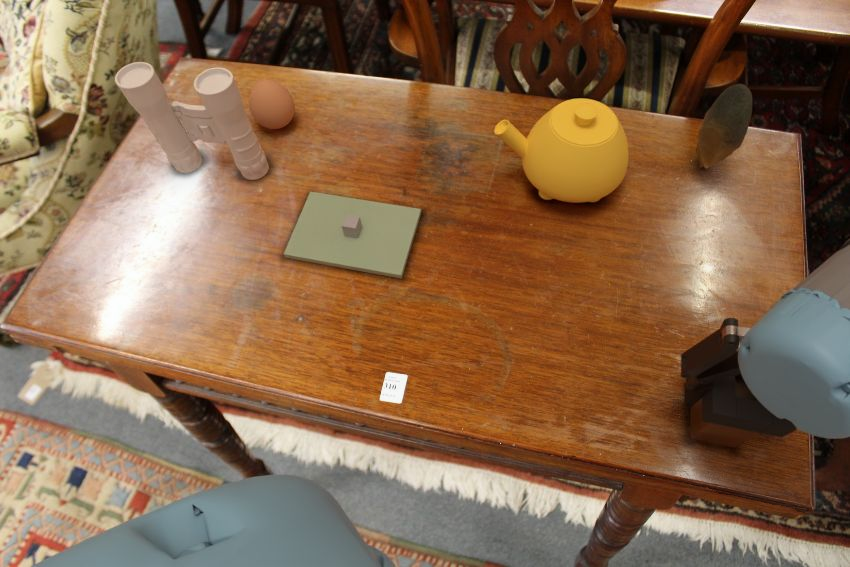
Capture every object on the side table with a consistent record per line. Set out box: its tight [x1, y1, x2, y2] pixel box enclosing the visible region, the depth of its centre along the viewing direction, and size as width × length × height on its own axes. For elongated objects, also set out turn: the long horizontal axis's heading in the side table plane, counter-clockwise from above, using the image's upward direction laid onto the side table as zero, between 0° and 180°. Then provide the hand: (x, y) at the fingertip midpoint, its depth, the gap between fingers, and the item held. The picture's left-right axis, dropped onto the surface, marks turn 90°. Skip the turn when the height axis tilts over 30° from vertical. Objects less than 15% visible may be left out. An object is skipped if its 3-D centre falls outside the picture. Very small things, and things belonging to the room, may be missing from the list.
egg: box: [248, 78, 296, 130], centre depth 93 cm, size 7×7×8 cm
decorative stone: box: [695, 83, 753, 170], centre depth 80 cm, size 10×6×15 cm, turn 162°
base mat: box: [283, 191, 422, 279], centre depth 83 cm, size 12×18×4 cm, turn 77°
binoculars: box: [114, 61, 270, 181], centre depth 85 cm, size 17×5×18 cm, turn 81°
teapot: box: [493, 97, 630, 203], centre depth 82 cm, size 20×16×14 cm
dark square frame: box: [702, 374, 798, 438], centre depth 60 cm, size 8×8×3 cm
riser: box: [689, 378, 760, 448], centre depth 64 cm, size 7×5×8 cm
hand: (727, 403), depth 64 cm, fingers closed on dark square frame, 8 cm apart
